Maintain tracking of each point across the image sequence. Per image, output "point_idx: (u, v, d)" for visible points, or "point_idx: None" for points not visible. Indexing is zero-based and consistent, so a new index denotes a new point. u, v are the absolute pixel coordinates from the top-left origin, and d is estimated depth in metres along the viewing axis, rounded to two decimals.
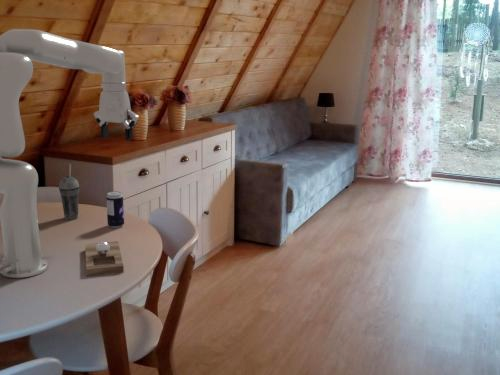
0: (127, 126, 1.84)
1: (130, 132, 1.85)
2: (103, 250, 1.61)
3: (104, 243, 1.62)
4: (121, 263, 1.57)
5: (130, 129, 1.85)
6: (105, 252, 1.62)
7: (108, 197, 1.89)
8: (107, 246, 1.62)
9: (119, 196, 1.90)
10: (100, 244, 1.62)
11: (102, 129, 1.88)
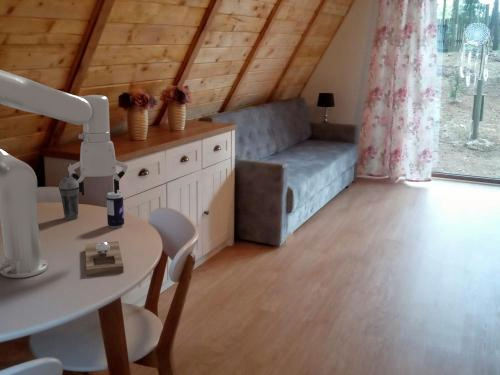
0: (117, 178, 1.66)
1: (118, 184, 1.68)
2: (103, 250, 1.61)
3: (104, 243, 1.62)
4: (121, 263, 1.57)
5: (118, 181, 1.68)
6: (105, 252, 1.62)
7: (108, 197, 1.89)
8: (107, 246, 1.62)
9: (119, 196, 1.90)
10: (100, 244, 1.62)
11: (82, 185, 1.64)
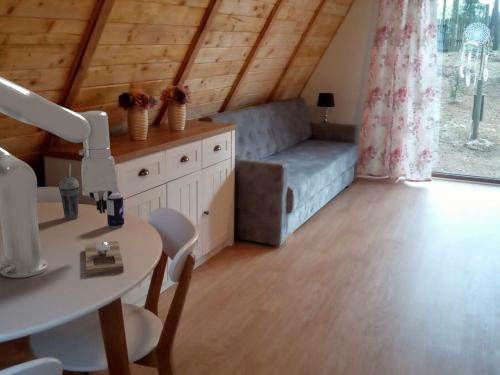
0: (104, 198, 1.66)
1: (106, 203, 1.67)
2: (103, 250, 1.61)
3: (104, 243, 1.62)
4: (121, 263, 1.57)
5: None
6: (105, 252, 1.62)
7: (108, 197, 1.89)
8: (107, 246, 1.62)
9: (119, 196, 1.90)
10: (100, 244, 1.62)
11: (100, 204, 1.66)
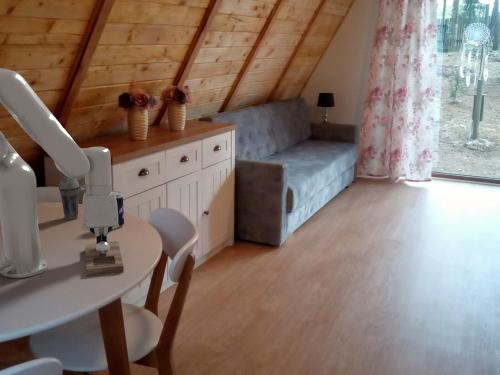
0: (105, 233, 1.66)
1: (106, 238, 1.67)
2: (103, 250, 1.61)
3: (104, 243, 1.62)
4: (121, 263, 1.57)
5: None
6: (105, 252, 1.62)
7: None
8: (107, 246, 1.62)
9: (119, 196, 1.90)
10: (100, 244, 1.62)
11: (100, 239, 1.66)
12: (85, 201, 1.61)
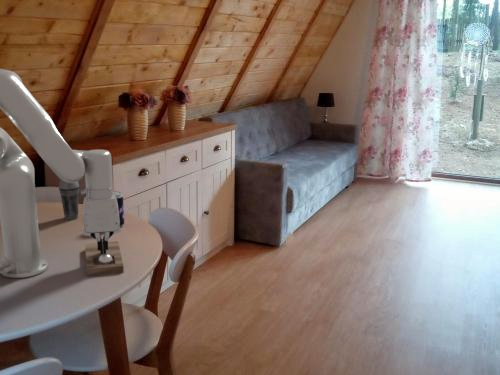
0: (106, 238, 1.62)
1: (107, 243, 1.63)
2: None
3: None
4: (121, 263, 1.57)
5: (107, 240, 1.63)
6: None
7: None
8: None
9: (119, 196, 1.90)
10: None
11: (101, 244, 1.62)
12: (85, 205, 1.56)
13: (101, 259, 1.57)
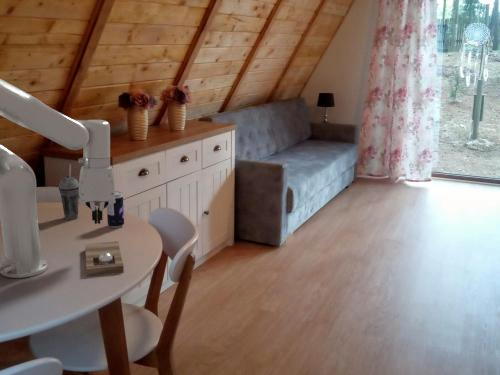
0: (100, 208, 1.63)
1: None
2: None
3: None
4: (121, 263, 1.57)
5: None
6: None
7: None
8: None
9: (119, 196, 1.90)
10: None
11: (96, 214, 1.63)
12: (82, 174, 1.58)
13: (101, 255, 1.59)
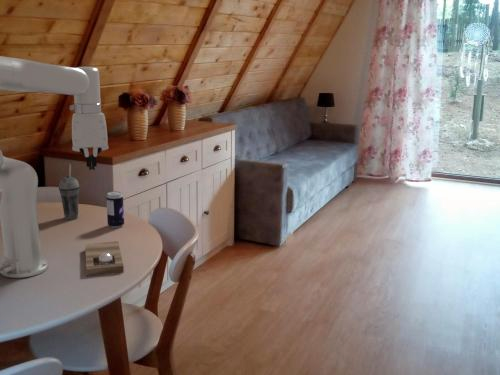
0: (94, 154, 1.67)
1: None
2: None
3: None
4: (121, 263, 1.57)
5: None
6: None
7: (108, 197, 1.89)
8: None
9: (119, 196, 1.90)
10: None
11: (90, 160, 1.67)
12: (74, 120, 1.62)
13: (101, 256, 1.58)
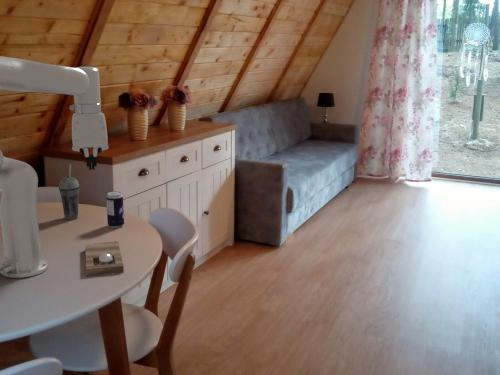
0: (94, 154, 1.67)
1: None
2: None
3: None
4: (121, 263, 1.57)
5: None
6: None
7: (108, 197, 1.89)
8: None
9: (119, 196, 1.90)
10: None
11: (90, 160, 1.67)
12: (74, 120, 1.62)
13: (102, 257, 1.58)
